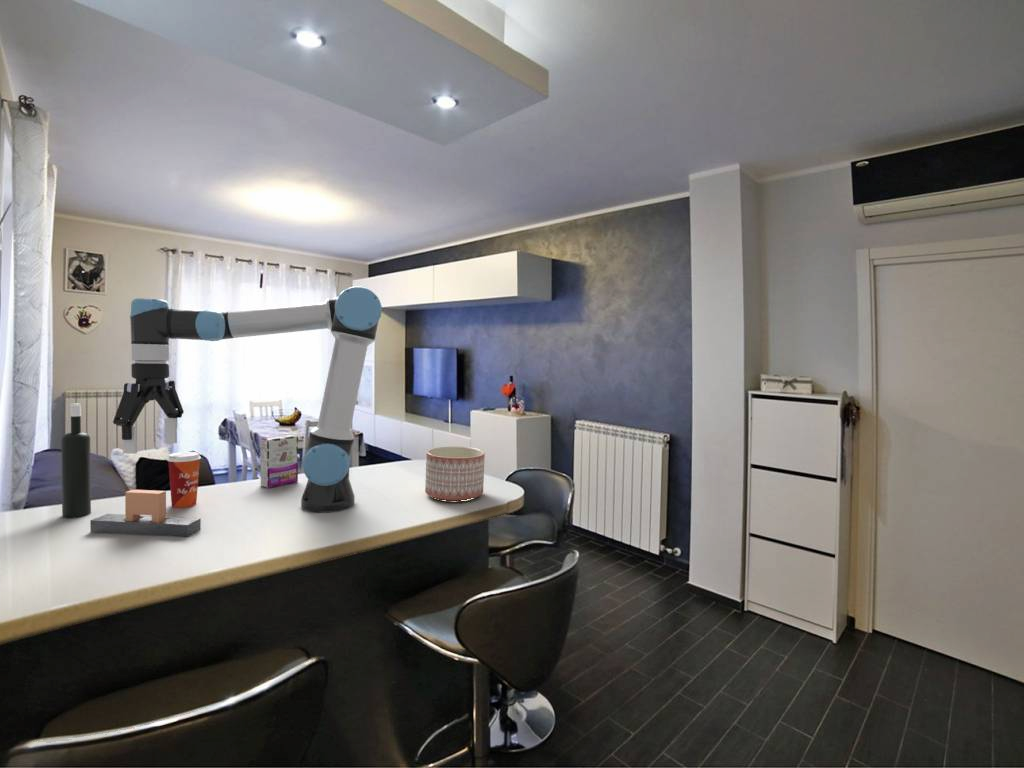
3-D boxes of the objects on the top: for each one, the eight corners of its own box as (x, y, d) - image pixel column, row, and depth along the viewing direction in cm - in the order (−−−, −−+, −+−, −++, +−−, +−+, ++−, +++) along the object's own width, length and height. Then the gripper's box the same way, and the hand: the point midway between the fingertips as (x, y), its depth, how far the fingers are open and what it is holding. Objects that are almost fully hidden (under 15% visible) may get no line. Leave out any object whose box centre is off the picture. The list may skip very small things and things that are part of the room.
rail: (200, 529, 126) (200, 518, 125) (187, 537, 121) (187, 524, 120) (107, 525, 126) (107, 513, 126) (90, 532, 121) (90, 520, 121)
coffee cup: (184, 510, 139) (184, 457, 139) (159, 507, 141) (159, 455, 140) (207, 502, 148) (208, 452, 147) (184, 499, 149) (184, 450, 148)
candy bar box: (289, 479, 176) (290, 434, 175) (298, 482, 173) (298, 435, 172) (259, 486, 167) (259, 437, 166) (267, 488, 164) (268, 439, 163)
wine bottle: (92, 515, 133) (91, 403, 131) (63, 519, 129) (62, 404, 127) (89, 509, 137) (88, 401, 135) (61, 514, 133) (59, 402, 131)
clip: (165, 530, 124) (165, 491, 124) (158, 533, 122) (158, 493, 121) (133, 528, 125) (133, 489, 124) (125, 531, 122) (125, 492, 122)
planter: (494, 494, 168) (495, 451, 167) (458, 508, 152) (460, 460, 151) (450, 484, 178) (451, 444, 177) (412, 496, 162) (414, 451, 161)
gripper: (170, 361, 134) (171, 438, 135) (91, 362, 109) (93, 457, 111) (198, 361, 134) (199, 439, 135) (125, 363, 109) (127, 458, 110)
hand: (151, 447), depth 123 cm, fingers open, 13 cm apart
